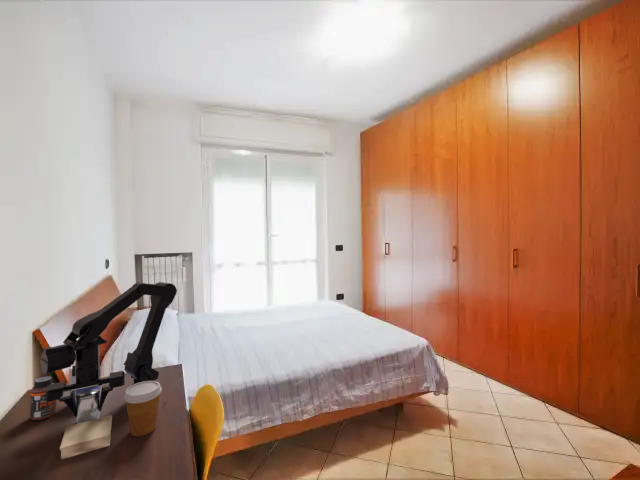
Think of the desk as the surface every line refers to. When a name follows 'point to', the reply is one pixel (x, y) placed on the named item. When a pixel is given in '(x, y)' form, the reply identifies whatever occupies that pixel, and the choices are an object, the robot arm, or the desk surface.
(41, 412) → the supplement bottle
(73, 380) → the walkman
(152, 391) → the disposable coffee cup
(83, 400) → the tin
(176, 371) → the desk surface
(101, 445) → the oak box
